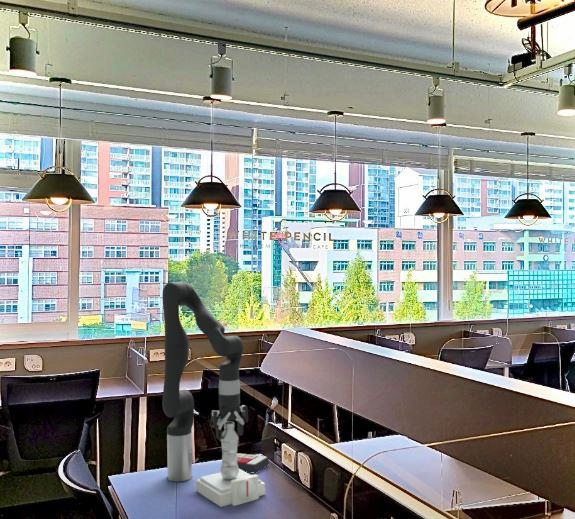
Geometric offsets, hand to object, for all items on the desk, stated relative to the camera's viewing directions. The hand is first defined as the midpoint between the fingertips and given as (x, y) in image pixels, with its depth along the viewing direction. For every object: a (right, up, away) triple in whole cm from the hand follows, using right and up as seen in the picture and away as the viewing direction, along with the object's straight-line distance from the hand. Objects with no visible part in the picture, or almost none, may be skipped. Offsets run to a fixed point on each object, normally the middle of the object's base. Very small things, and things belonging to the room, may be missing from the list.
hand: (229, 437), depth 214 cm
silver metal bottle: (0, -15, 0) cm, 15 cm away
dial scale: (+1, -20, -1) cm, 20 cm away
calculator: (+4, -21, +27) cm, 34 cm away
